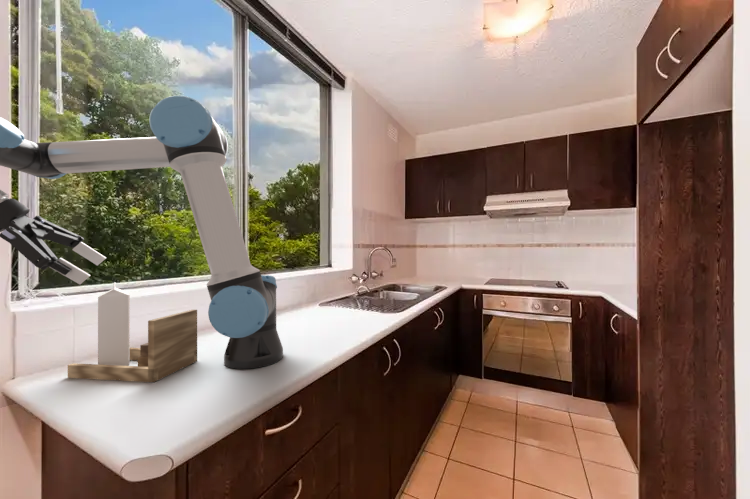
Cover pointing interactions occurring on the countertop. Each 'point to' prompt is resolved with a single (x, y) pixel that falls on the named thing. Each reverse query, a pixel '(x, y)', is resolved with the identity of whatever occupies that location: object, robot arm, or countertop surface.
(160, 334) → the rack
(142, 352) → the offcut
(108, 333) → the milk
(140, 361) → the offcut
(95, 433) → the countertop surface
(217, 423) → the countertop surface
